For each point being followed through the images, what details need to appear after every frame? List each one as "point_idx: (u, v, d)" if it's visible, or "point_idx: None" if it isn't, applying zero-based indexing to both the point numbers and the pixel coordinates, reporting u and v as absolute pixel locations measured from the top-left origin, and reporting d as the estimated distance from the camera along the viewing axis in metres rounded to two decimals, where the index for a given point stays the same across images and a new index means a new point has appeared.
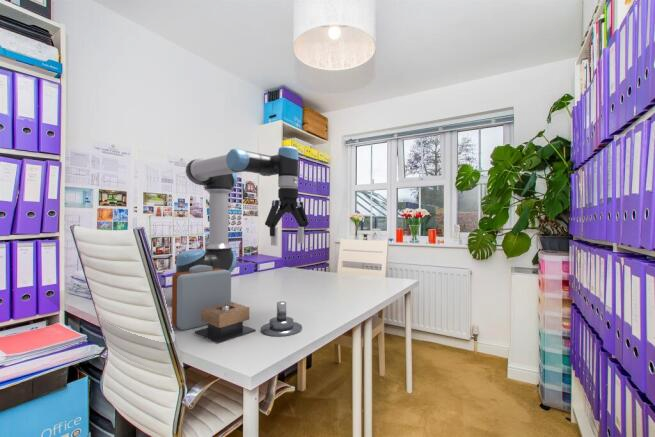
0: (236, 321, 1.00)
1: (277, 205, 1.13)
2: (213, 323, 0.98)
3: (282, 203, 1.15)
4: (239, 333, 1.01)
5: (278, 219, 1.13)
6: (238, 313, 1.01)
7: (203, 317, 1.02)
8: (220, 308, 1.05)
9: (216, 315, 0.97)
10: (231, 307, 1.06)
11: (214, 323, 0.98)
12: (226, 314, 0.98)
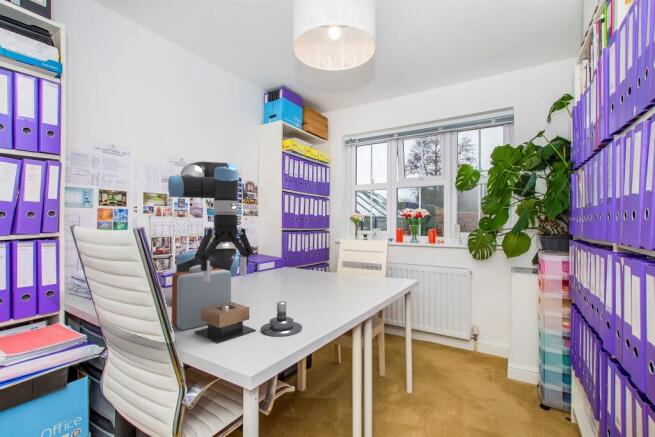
0: (236, 321, 1.00)
1: (209, 235, 0.98)
2: (213, 323, 0.98)
3: (217, 232, 1.00)
4: (239, 333, 1.01)
5: (211, 251, 0.98)
6: (238, 313, 1.01)
7: (203, 317, 1.02)
8: (220, 308, 1.05)
9: (216, 315, 0.97)
10: (231, 307, 1.06)
11: (214, 323, 0.98)
12: (226, 314, 0.98)
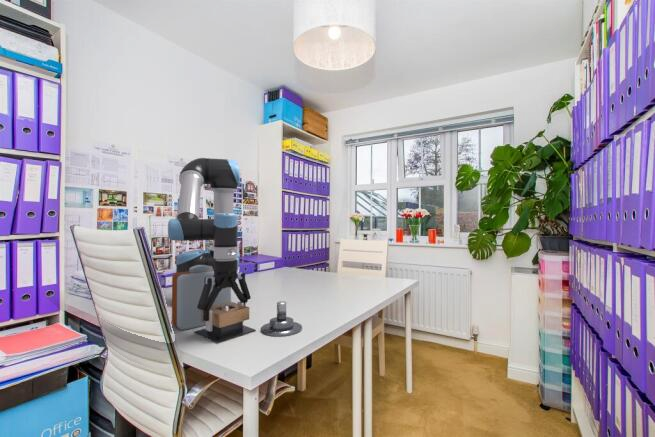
0: (236, 321, 1.01)
1: (210, 284, 0.98)
2: (213, 323, 0.98)
3: (216, 279, 1.00)
4: (239, 333, 1.01)
5: (213, 300, 0.99)
6: (238, 313, 1.01)
7: None
8: (220, 308, 1.05)
9: (216, 315, 0.97)
10: (231, 307, 1.06)
11: (214, 323, 0.98)
12: (226, 314, 0.98)
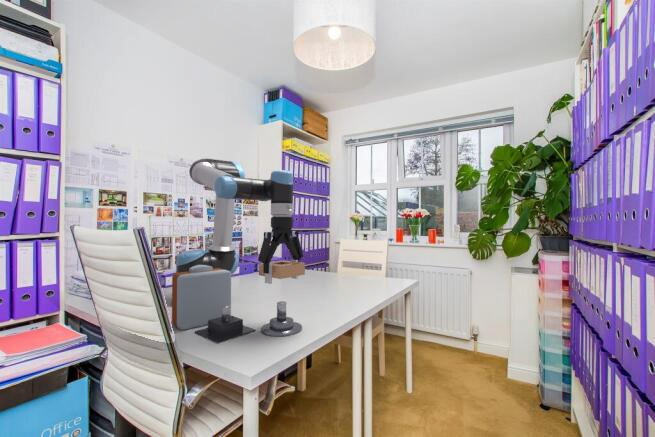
0: (294, 275, 1.03)
1: (269, 238, 1.01)
2: (273, 275, 1.01)
3: (275, 234, 1.03)
4: (239, 333, 1.01)
5: (272, 253, 1.02)
6: (296, 267, 1.04)
7: (261, 271, 1.05)
8: (276, 264, 1.08)
9: (277, 267, 1.00)
10: (286, 263, 1.09)
11: (274, 275, 1.01)
12: (286, 266, 1.01)
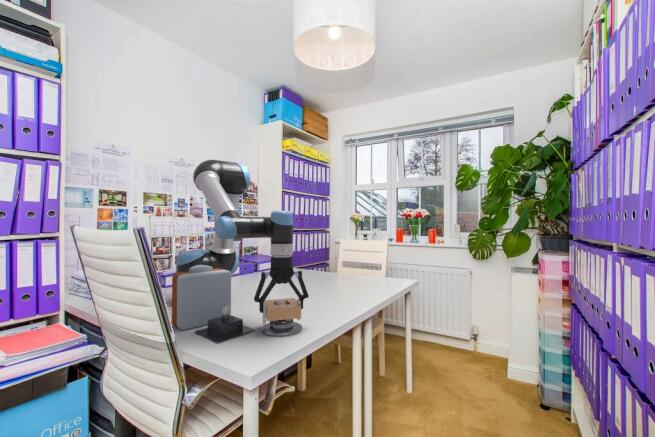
0: (286, 317, 1.01)
1: (263, 278, 1.04)
2: (266, 316, 1.03)
3: (271, 274, 1.05)
4: (239, 333, 1.01)
5: (266, 294, 1.04)
6: (288, 310, 1.02)
7: None
8: None
9: (266, 309, 1.01)
10: (288, 303, 1.08)
11: (266, 316, 1.02)
12: (275, 309, 1.00)
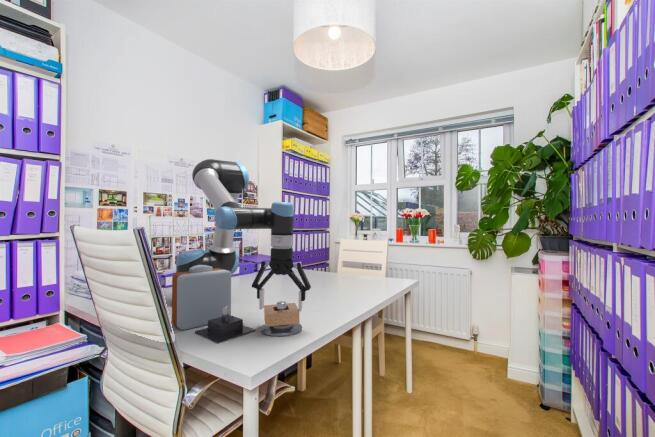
0: (284, 323, 1.01)
1: (262, 267, 1.07)
2: None
3: (270, 264, 1.06)
4: (239, 333, 1.01)
5: (263, 281, 1.07)
6: (286, 316, 1.01)
7: (264, 314, 1.09)
8: None
9: (264, 314, 1.01)
10: (288, 308, 1.07)
11: None
12: (272, 314, 1.00)
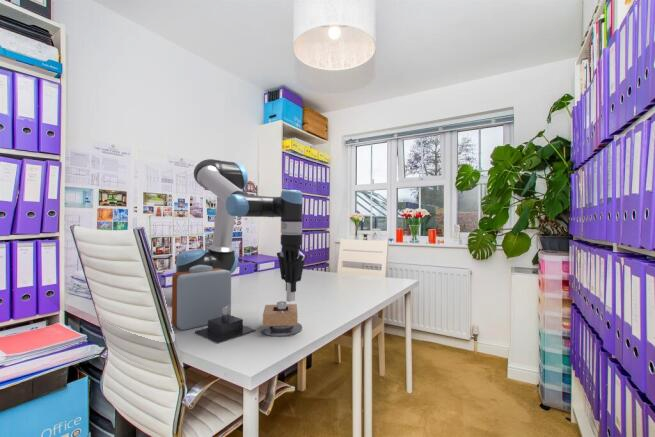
0: (281, 324, 1.01)
1: (279, 257, 1.13)
2: None
3: (282, 251, 1.12)
4: (239, 333, 1.01)
5: (286, 272, 1.10)
6: (284, 317, 1.01)
7: None
8: None
9: (263, 314, 1.02)
10: (288, 309, 1.07)
11: None
12: (270, 315, 1.00)
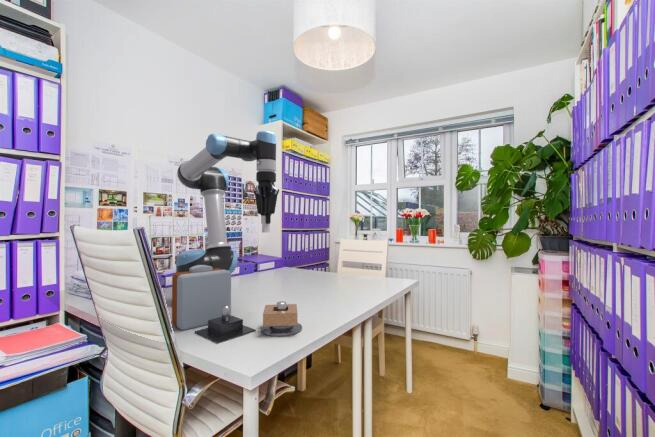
0: (281, 324, 1.01)
1: (255, 194, 1.24)
2: None
3: (258, 188, 1.23)
4: (239, 333, 1.01)
5: (261, 206, 1.22)
6: (284, 317, 1.01)
7: None
8: None
9: (263, 314, 1.02)
10: (288, 309, 1.07)
11: None
12: (270, 315, 1.00)
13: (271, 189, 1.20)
